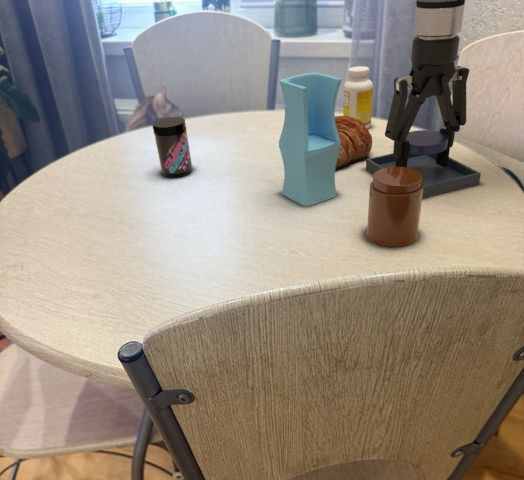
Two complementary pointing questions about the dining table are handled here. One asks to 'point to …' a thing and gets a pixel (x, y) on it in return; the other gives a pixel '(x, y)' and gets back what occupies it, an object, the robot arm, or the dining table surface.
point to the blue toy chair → (309, 137)
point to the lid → (426, 142)
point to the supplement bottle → (358, 95)
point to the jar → (394, 206)
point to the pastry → (352, 140)
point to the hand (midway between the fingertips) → (421, 169)
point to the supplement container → (172, 146)
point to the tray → (431, 172)
